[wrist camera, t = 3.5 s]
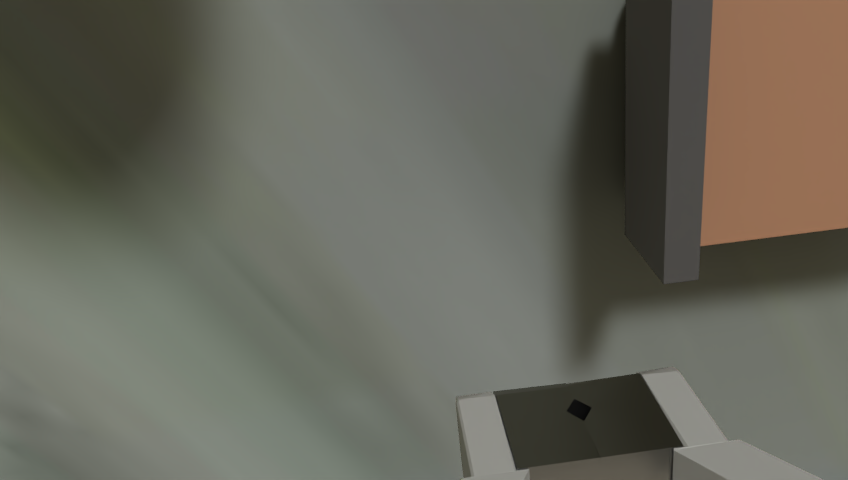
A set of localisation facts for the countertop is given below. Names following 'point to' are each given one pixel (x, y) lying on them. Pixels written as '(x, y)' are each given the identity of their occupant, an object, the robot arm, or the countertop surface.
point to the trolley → (733, 124)
